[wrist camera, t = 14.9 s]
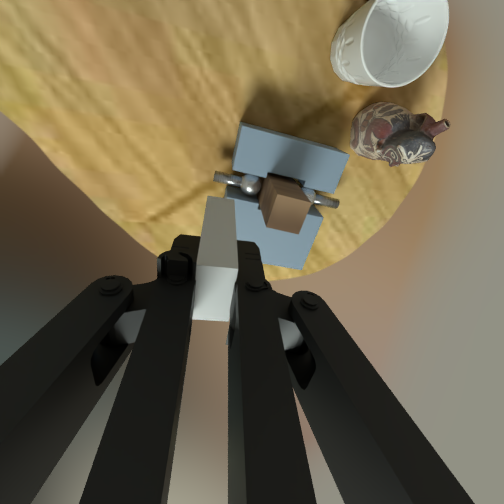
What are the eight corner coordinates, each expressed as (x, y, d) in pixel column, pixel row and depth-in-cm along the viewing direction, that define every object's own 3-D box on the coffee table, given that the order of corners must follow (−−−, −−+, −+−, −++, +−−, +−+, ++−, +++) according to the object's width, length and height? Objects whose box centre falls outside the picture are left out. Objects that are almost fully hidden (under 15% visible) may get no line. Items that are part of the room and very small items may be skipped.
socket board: (240, 121, 35) (242, 125, 31) (335, 147, 38) (349, 155, 34) (215, 239, 44) (214, 255, 40) (294, 253, 47) (301, 269, 42)
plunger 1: (216, 162, 36) (215, 167, 33) (262, 173, 37) (265, 179, 35) (212, 183, 37) (211, 190, 35) (257, 193, 39) (259, 200, 36)
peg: (263, 166, 38) (277, 194, 28) (289, 173, 39) (311, 202, 29) (255, 192, 40) (266, 227, 30) (280, 198, 41) (298, 234, 31)
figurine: (338, 135, 37) (381, 152, 27) (378, 88, 35) (443, 88, 24) (369, 167, 40) (419, 193, 30) (408, 126, 37) (478, 139, 27)
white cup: (311, 57, 32) (342, 45, 24) (360, -13, 29) (415, -55, 21) (354, 102, 35) (395, 106, 27) (402, 42, 32) (466, 24, 24)
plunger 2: (296, 181, 38) (301, 187, 36) (337, 191, 40) (344, 197, 37) (290, 200, 40) (294, 208, 37) (329, 209, 41) (336, 217, 39)
